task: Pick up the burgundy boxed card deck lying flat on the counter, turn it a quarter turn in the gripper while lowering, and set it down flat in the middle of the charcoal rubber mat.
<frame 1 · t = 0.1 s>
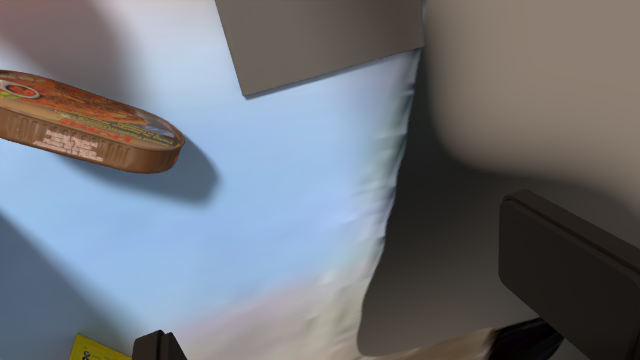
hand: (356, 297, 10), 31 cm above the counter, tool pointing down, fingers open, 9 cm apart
food package: (136, 358, 47), on the counter
tin: (95, 111, 35), on the counter
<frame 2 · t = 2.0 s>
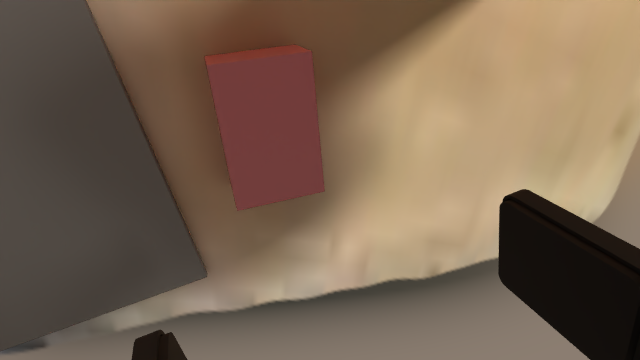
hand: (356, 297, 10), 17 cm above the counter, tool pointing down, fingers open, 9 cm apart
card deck: (260, 117, 25), on the counter
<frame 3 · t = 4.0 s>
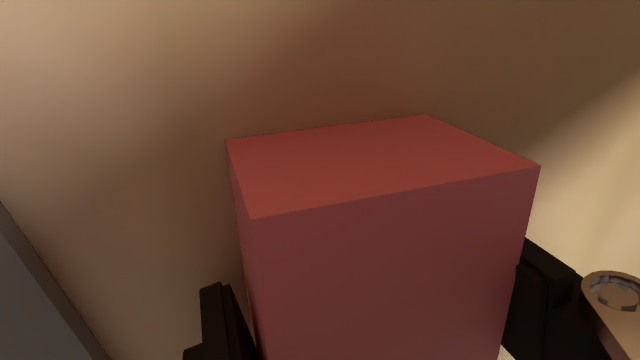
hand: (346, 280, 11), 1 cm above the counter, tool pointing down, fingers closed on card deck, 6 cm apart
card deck: (335, 259, 12), on the counter, touching gripper
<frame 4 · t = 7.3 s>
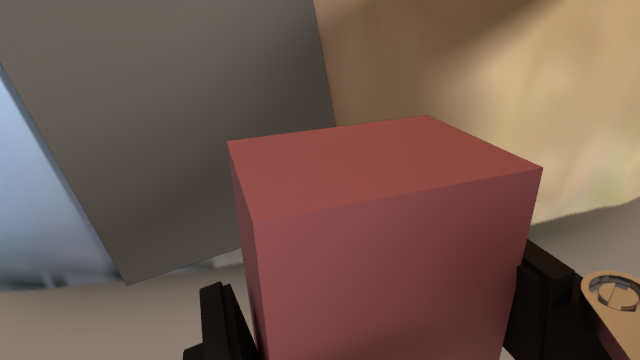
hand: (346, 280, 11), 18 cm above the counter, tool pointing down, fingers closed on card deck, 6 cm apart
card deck: (336, 261, 12), point 17 cm above the counter, touching gripper
mat: (202, 125, 26), on the counter
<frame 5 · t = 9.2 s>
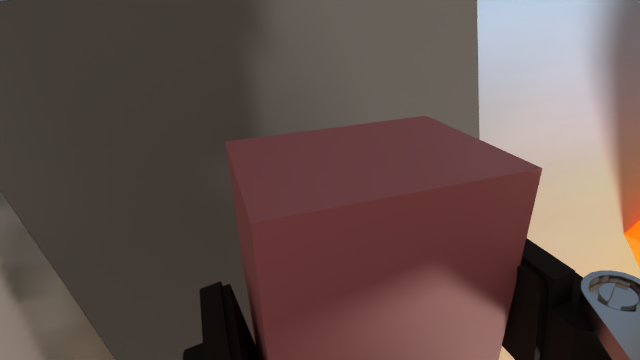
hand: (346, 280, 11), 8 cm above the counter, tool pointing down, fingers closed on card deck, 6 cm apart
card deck: (335, 261, 12), point 7 cm above the counter, touching gripper
mat: (284, 177, 18), on the counter
when the fingers open (2 cm above the counter, at t = 10.9 s): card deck stays where it is, resting on mat.
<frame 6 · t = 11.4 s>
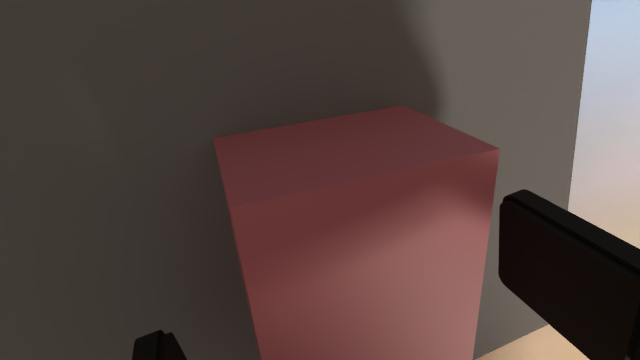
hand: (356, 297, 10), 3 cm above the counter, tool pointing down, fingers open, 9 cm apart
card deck: (325, 247, 13), point 1 cm above the counter, touching mat
mat: (320, 237, 13), on the counter
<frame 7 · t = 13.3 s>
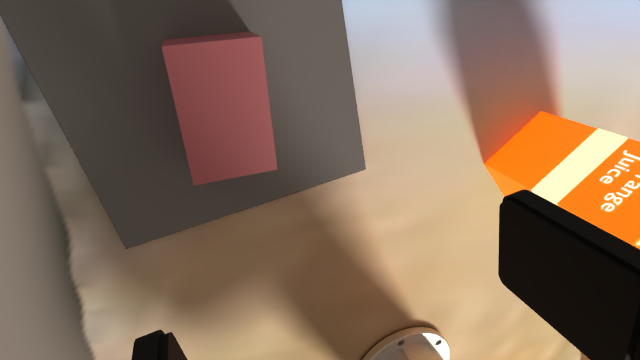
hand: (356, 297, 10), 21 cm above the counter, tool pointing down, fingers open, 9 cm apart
orange juice: (525, 164, 41), on the counter
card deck: (219, 99, 27), point 1 cm above the counter, touching mat
mat: (219, 97, 28), on the counter
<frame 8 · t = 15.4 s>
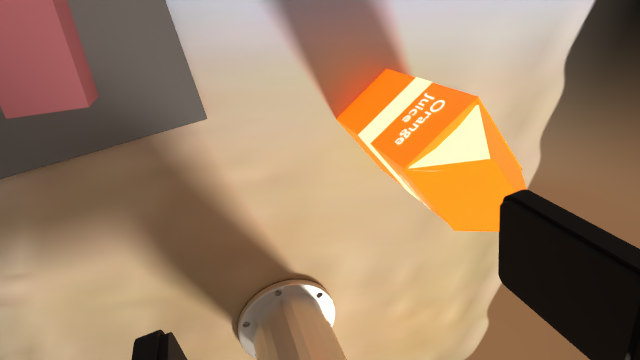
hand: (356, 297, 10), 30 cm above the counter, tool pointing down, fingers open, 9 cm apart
orange juice: (382, 121, 43), on the counter
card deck: (43, 47, 30), point 1 cm above the counter, touching mat
mat: (45, 47, 31), on the counter
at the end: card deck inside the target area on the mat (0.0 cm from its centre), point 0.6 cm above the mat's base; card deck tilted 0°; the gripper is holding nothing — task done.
